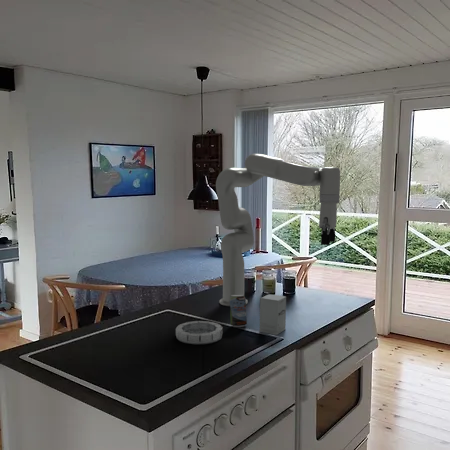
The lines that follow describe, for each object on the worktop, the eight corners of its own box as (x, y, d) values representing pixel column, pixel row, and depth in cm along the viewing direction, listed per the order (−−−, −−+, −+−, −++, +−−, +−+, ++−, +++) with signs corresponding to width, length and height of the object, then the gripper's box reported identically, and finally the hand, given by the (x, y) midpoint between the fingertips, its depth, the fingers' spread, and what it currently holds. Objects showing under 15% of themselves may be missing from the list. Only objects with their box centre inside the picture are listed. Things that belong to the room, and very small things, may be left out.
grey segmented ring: (171, 331, 165) (171, 323, 165) (213, 327, 171) (213, 319, 170) (182, 346, 150) (182, 337, 150) (228, 341, 156) (228, 332, 155)
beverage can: (235, 330, 167) (235, 298, 166) (226, 324, 174) (226, 293, 172) (250, 327, 170) (250, 296, 169) (240, 322, 177) (240, 291, 175)
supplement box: (277, 335, 162) (278, 300, 161) (258, 331, 166) (259, 297, 164) (286, 329, 168) (286, 296, 167) (268, 326, 172) (268, 293, 171)
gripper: (324, 198, 186) (323, 240, 188) (314, 199, 170) (313, 245, 172) (343, 198, 183) (342, 241, 184) (334, 200, 167) (333, 246, 169)
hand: (328, 243), depth 178 cm, fingers open, 9 cm apart
